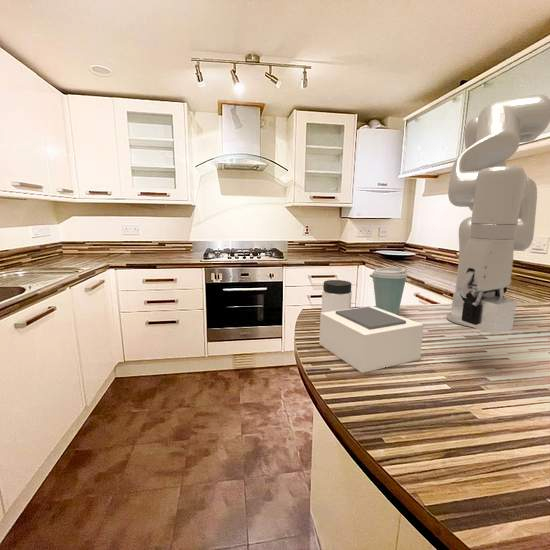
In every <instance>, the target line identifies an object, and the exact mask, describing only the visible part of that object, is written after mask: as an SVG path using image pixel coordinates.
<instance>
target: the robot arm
mask: <svg viewBox="0 0 550 550" xmlns="http://www.w3.org/2000/svg"><path fill="white" fill-rule="evenodd" d="M549 124H550V98H549V97H548V96H547V95H545V94H533V95H527V96H519V97H514V98H506V99H501V100H500V99H499V100H496V101H493V102H491V103H490V104H487V105H486V106H485V107H483V109H482V110H481V111H480V113H479V115H477V116H475V117H472V118H471V119H469V120H468V122H467V123H466V125H465V129H464V146H465V150H464V151H462V152H461V153H460V154H459V155H458V156H457V158H456V159H455V160H454V162H453V164H452V167H451V170H450V176H449V182H448V187H447V188H448V192H447V193H448V195H447V196H448V201H449V202H450V203H451V204H452V205H453V206H455V207H460V208H463V207H464V208H468V209H469V210H470V211H471V216H468V217H466V218H465V219H463V220H462V221H461V222H460V224H459V227H458V244H459V245H458V246H459V247H458V248H459V249H458V253H459V254H458V263H457V264H458V265H457V273H456V274H457V275H456V281H455V290H454V291H455V292H454V293H456V292H459V294H460V296H461V298H462V302H463V312H462V321H465V322H468V323H471V324H474V325H477V324H478V323H479V316H480V308H481V306H479V305H478V304H479V302H480V299H481V297H482V294H483V292H485V291H491V290H495V295H497V296H501V297H505V294H506V292H507V290H508V288H509V287H510V285H511V283H512V274H513V265H514V252H515V251H517V252H519V251H520V252H521V251H525V250H527V249H529V248H530V246H532V243H533V240H534V237H535V236H534V235H535V228H536V227H535V226H536V225H535V223H536V214H537V213H536V212H537V204H538V203H537V202H538V201H537V200H538V187H537V184H536V181H535V180H533V179H532V178H530V177H529V176H528V175H527V173H526V171H525V170H524V168H523V167H521V166H516V165H507V163H506V160H508V159H510V158H511V157H512V156H513V155H515V154H516V152H517V150H518V149H519V146H520V144H521V143H528V142H533V141H534V140H537V138H538V137H539V136H541V134H543V133H544V132H545V130H546V129H547V128H548V126H549ZM474 288H476V289H474ZM471 292H475V293H476V295H475V297H474V296H473V295H472V293H471ZM446 320H448V321H449V322H452V323H455V324H457V325H461V326H464V327H471V326H468V325H465V324H462V323H459V322H456V321H453V320H451V312H448V313H447V314H446ZM471 328H472V327H471Z"/></svg>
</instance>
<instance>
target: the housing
mask: <svg viewBox="0 0 550 550" xmlns="http://www.w3.org/2000/svg"><path fill="white" fill-rule="evenodd" d="M474 289H476V288H474ZM471 293H472V295H473V296H474V297H475V295H476V293H475V292H471ZM517 303H518V300H517V299H513V298H510V297H509V298H508V297H505V296H504V297H501V296H497V295H495V290H491V291H485V292H483V294H482V297H481V299H480V302H479V304H478V305H479V306H481V308H480V316H479V323H478V324H477V325H474V324H471V323H468V322H465V321H462V312H463V302H462V298H461V296H460V294H459V292H456V293H455V292H453V296H452V303H451V320H453V321H456V322H459V323H462V324H465V325H468V326H467V327H470V326H471V328H474V329H477V330H480V331H483V332H485V333H488V334H491V335H495V334H500V333H503V332H507V331H511V330H513V327H514V321H515V320H514V319H515V314H516V310H517V309H516V308H517Z"/></svg>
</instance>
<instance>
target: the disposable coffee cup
mask: <svg viewBox="0 0 550 550" xmlns="http://www.w3.org/2000/svg"><path fill="white" fill-rule="evenodd" d="M406 271H407V269H405V268H403V267H402V268H401V267H381V268H376V269H374V271H372V272H371V273H372V279H373V280H372V281H373V290H374V292H373V293H374V300H375V307H377V308H379V309H382V310H385V311H388V312H390V313H393V314H396V315H398V314H399V313H400V307H401V303H402V298H403V294H404V290H405V284H406V280H407V277H408V272H406Z"/></svg>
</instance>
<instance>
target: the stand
mask: <svg viewBox="0 0 550 550" xmlns="http://www.w3.org/2000/svg"><path fill="white" fill-rule="evenodd" d="M319 313H320V314H319V315H320V320H319V343H318V344H319V345H320V346H322V347H323V348H325V349H326V350H327V351H329V352H330V353H332V354H333V355H335V356H336V357H338V358H340V359H341V360H342V361H344V362H346V363H347V364H348V365H349V366H350V367H353V368H355V369H356V370H357V371H358V372H360V373H361V374H364V373H368V372H372V371H378V370H380V369H384V368H385V367H386V368H389V367H390V368H391V367H394V366H398V365H401V364H405V363H411V362H414V361H417V360H418V361H419V360H421V354H422V353H421V351H422V345H423V344H422V343H423V342H422V341H423V332H424V324H422V323H420V322H419V321H418V322H417V321H415V320H413V319H409V318H407V317H404V316H401V315H398V314H397V315H396V314H393V313H390V312H388V311H385V310H382V309H379V308H377V307H376V306H374V305H369V306H360V307H355V308H351V309H345V310H338V311H330V312H323V313H322V312H319Z"/></svg>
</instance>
